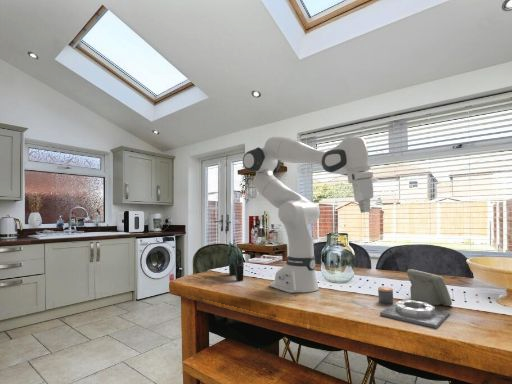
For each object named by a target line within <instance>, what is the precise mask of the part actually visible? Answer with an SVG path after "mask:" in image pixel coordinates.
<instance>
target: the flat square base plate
mask: <svg viewBox="0 0 512 384" xmlns="http://www.w3.org/2000/svg"><path fill="white" fill-rule="evenodd" d="M450 312H451V311H450V310H447V309H441V308H436V307H435V306H434V305H430V304H428V303H425V302H419V301H417V300H414V299H410V300H409V299H408V300H406V299H405V300H399V301H398V300H397V301H396V302H393V304H390V306H388V307H386V308H384V309H383V310H381V311H380V312H379V316H381V317H384V318H390V319H393V320H398V321H403V322H406V323H410V324H415V325H418V326H419V325H420V326H423V327H427V328H433V329H438V327H439V326H440V325H441V324H442V323H443V322H444V321H445V320H446V319H447V318H448V317H449V316H450V315H451V313H450Z"/></svg>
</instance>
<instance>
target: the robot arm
mask: <svg viewBox="0 0 512 384" xmlns="http://www.w3.org/2000/svg"><path fill="white" fill-rule="evenodd" d="M367 147H368V146H367V144H366V141H365V139H364V137H361V136H358V135H356V136H355V135H352V136H351V135H350V136H346V137H344V138H343V139H342V140H341V142H340V143H338V144H337V145H336V146H335V147H333V148H331V149H330V150H326V151H323V150H319V149H316V148H315V147H311V146H310V145H307V144H305V143H303V142H301V141H299V140H296V139H293V138H290V137H285V136H271V137H269V138H268V139H267V140H266V141H265V143H264V147H262V148H261V147H260V146H259V147H255V148H254V149H251V150H248V151H246V152H245V153H244V154H243V157H242V166H243V167H244V168H245V170H246V171H248V172H252V173H255V175H254V178H253V180H252V183H253V186H254V187H255V189H256V190H257V192H258V193H259V194H260V195H261V196H262V197H263V198H264V199H265V200H267V201H268V203H270V204H271V205H272V206H273V207H275V208H277V209H278V212H277V215H278V218H279V221H280V222H281V223H282V224H283V226H284V229H285V231H286V235H287V241H288V256H287V257H286V256H285V258H284V261H286V262H285V264H284V265H283V266H282V267H281V268H279V270H277V271H276V272H275V276H274V281H272V282H270V284H269V287H272V288H275V289H277V290H281V291H284V292H285V293H286V292H287V293H290V294H292V293H311V292H315V291H318V290H319V289H320V287H319V283H318V281H317V280H318V279H317V276H316V257H315V252H314V250H315V247H314V238H313V236H312V234H311V233H310V229H309V226H308V225H312V224H314V223H315V222H316V221H318V219H319V218H320V216H321V210H320V206H318V204H316V203H314V202H312V201H311V200H309V199H307V198H306V197H304V196H302V195H301V194H299V193H297V192H295V191H294V190H293V189H291V188H289V187H288V186H287V185H286V184H284V183H283V182H282V181H280V179H278V178H277V177H276V176H275V175H276V174H277V173H278V170H279V169H280V167H281V163H282V162H285V163H293V164H315V165H319V166H321V167H322V168H323V170H325V172H327V173H330V174H334V175H335V174H336V175H342V176H347V181H348V183H349V184H352V185H351V186H352V191H353V197H354V202H355V203H358V207H359V210H360V213H361V214H364V213H369V212H371V211H372V209H371V199H373V198H374V187H373V186H374V185H373V178H374V174H373V171H372V169H371V164H370V163H369V158H370V157H369V151H368V148H367Z"/></svg>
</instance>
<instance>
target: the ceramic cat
mask: <svg viewBox="0 0 512 384" xmlns="http://www.w3.org/2000/svg"><path fill="white" fill-rule="evenodd" d="M235 242H236V240H235V239H233V243H232V242H229V243H228V245H227V252H226V253H227V256H228V257H229V261H228V274H229V276H235V279H236V281H237V282H243V281H244V271H245V270H244V266H245V265H244V264H245V263H244V258H243V257H244V256H243V252H242V251H241V248H239V247H238V245H237V244H236V243H235Z"/></svg>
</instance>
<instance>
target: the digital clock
mask: <svg viewBox="0 0 512 384" xmlns="http://www.w3.org/2000/svg"><path fill="white" fill-rule="evenodd" d="M406 273H407V277H408V279H409V282H410V284H411V286H410V298H411V299H410V300H414V301H419V302H425V303H428V304H430V305H432V306H437V305H443V306H447V307H450V306H452V305H453V303H452V302H453V301H452V298H451V295H450V293H449V290H448V287H447V285H446V282H445V279H444V277H443V276H441V275H437V274H433V273H429V272H425V271H421V270H417V269H412V268H408V269H407V272H406Z"/></svg>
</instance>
